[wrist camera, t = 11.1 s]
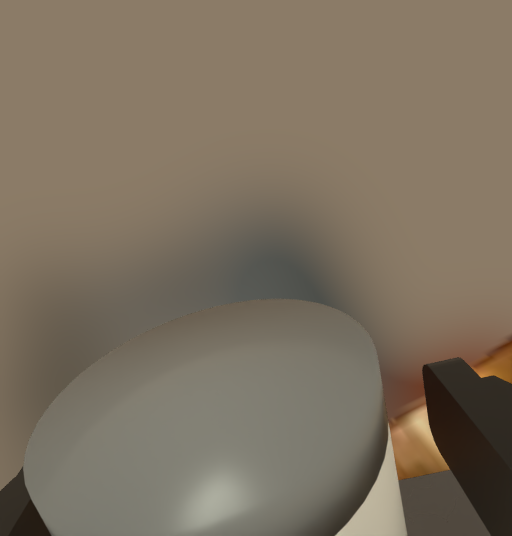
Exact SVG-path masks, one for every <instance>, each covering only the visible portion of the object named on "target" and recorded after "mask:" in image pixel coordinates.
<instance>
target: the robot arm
mask: <svg viewBox="0 0 512 536" xmlns="http://www.w3.org/2000/svg"><path fill="white" fill-rule="evenodd" d="M422 371H423V381H424V389H425V397H426V404H427V412H428V420H429V425H430V429H431V433H432V436H433V438H434V441H435V443H436V446H437V448H438V450H439V452H440V453H441V455H442V457H443V458H444V460H445V462H446V463H447V465H448V466H449V468H450V470H451V471H452V473H453V475H454V476H455V478H456V479H457V481H458V483H459V484H460V486H461V488H462V489H463V491H464V493H465V494H466V496H467V497H468V499H469V501H470V502H471V504H472V506H473V507H474V509H475V510H476V512H477V514H478V515H479V517H480V519H481V520H482V522H483V523H484V525H485V527H486V528H487V530H488V532H489V533H490V535H491V536H512V384H511V383H509V382H507V381H504V380H502V379H500V378H498V377H496V376H494V375H493V376H489V377H484V378H481V377H480V376H479V375H478V374H477V373H476V372H475V371H474V370H473V369H472V368H471V367H470V366H469V365H468V364H467V363H466V362H465V361H464V360H463V359H461V358H459V357H458V358H453V359H448V360H444V361H439V362H435V363H430V364H426V365H424V366H423V370H422ZM0 536H51V534H50V532H49V530H48V528H47V527H46V525H45V523H44V521H43V519H42V518H41V516H40V514H39V512H38V510H37V508H36V507H35V505H34V503H33V501H32V499H31V497H30V495H29V492H28V490H27V488H26V485H25V480H24V471H23V467H22V469H21V470H20V472H19V473H18V475H17V476H16V477H15V478H14V479H12V481H10V482H9V484H7V485H6V486H5V487H4V488H3V489H2V490H1V491H0Z"/></svg>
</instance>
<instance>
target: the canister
mask: <svg viewBox="0 0 512 536" xmlns="http://www.w3.org/2000/svg"><path fill="white" fill-rule="evenodd" d="M23 471H24V480H25V485H26V488H27V490H28V492H29V495H30V497H31V499H32V501H33V503H34V505H35V507H36V508H37V510H38V512H39V514H40V516H41V518H42V519H43V521H44V523H45V525H46V527H47V528H48V530H49V532H50V534H51V536H407V530H406V524H405V518H404V512H403V506H402V500H401V494H400V488H399V482H398V476H397V470H396V464H395V458H394V452H393V446H392V440H391V434H390V428H389V422H388V416H387V411H386V404H385V398H384V392H383V386H382V380H381V374H380V368H379V362H378V357H377V352H376V348H375V346H374V343H373V341H372V339H371V337H370V336H369V334H368V333H367V332H366V330H365V329H364V328H363V327H362V326H361V325H360V324H359V323H358V322H357V321H355V320H354V319H353V318H351V317H350V316H348V315H347V314H345V313H343V312H341V311H339V310H337V309H334V308H332V307H329V306H326V305H322V304H319V303H314V302H309V301H303V300H293V299H261V300H251V301H243V302H236V303H231V304H226V305H221V306H216V307H212V308H209V309H205V310H201V311H198V312H195V313H191V314H188V315H185V316H182V317H180V318H177V319H174V320H171V321H169V322H167V323H164V324H162V325H160V326H157V327H155V328H153V329H151V330H149V331H146V332H145V333H142V334H140V335H139V336H137V337H135V338H133V339H131V340H129V341H127V342H126V343H124V344H122V345H121V346H119V347H118V348H115V349H114V350H112V351H111V352H109V353H108V354H106V355H105V356H103V357H102V358H100V359H99V360H97V361H96V362H95V363H94V364H92V365H91V366H90V367H88V368H87V369H86V370H84V371H83V372H82V373H81V374H80V375H79V376H78V377H76V378H75V379H74V380H73V381H72V382H71V383H70V384H69V385H68V386H67V387H66V388H65V389H64V390H63V391H62V392H61V393H60V394H59V395H58V396H57V397H56V398H55V400H54V401H53V402H52V403H51V405H50V406H49V407H48V408H47V410H46V411H45V413H44V414H43V415H42V417H41V418H40V420H39V422H38V423H37V425H36V427H35V429H34V431H33V433H32V435H31V437H30V440H29V443H28V446H27V449H26V452H25V458H24V466H23Z"/></svg>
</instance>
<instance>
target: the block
mask: <svg viewBox="0 0 512 536" xmlns="http://www.w3.org/2000/svg"><path fill="white" fill-rule="evenodd" d="M398 482H399V488H400V494H401V500H402V506H403V512H404V518H405V524H406V530H407V536H491V535H490V533H489V532H488V530H487V528H486V527H485V525H484V523H483V522H482V520H481V519H480V517H479V515H478V514H477V512H476V510H475V509H474V507H473V506H472V504H471V502H470V501H469V499H468V497H467V496H466V494H465V493H464V491H463V489H462V488H461V486H460V484H459V483H458V481H457V479H456V478H455V476H454V475H453V473H452V471H451V470H448V471H443V472H438V473H433V474H428V475H423V476H418V477H413V478H408V479H404V480H399V481H398Z"/></svg>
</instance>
